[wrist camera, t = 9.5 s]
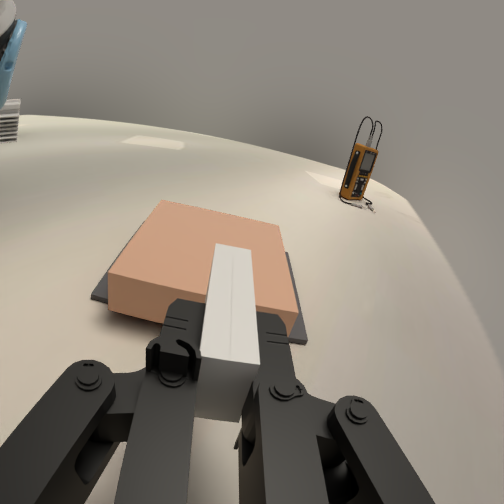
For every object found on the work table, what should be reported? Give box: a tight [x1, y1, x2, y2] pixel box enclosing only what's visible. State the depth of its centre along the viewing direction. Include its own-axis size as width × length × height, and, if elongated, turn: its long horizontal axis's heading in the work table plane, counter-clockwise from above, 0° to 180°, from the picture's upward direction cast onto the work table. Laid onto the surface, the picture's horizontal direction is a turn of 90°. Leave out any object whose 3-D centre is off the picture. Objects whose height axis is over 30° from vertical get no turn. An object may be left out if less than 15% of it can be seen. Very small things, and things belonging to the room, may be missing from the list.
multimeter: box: [339, 116, 382, 213], centre depth 65 cm, size 15×10×20 cm
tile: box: [108, 200, 299, 337], centre depth 25 cm, size 3×12×14 cm
